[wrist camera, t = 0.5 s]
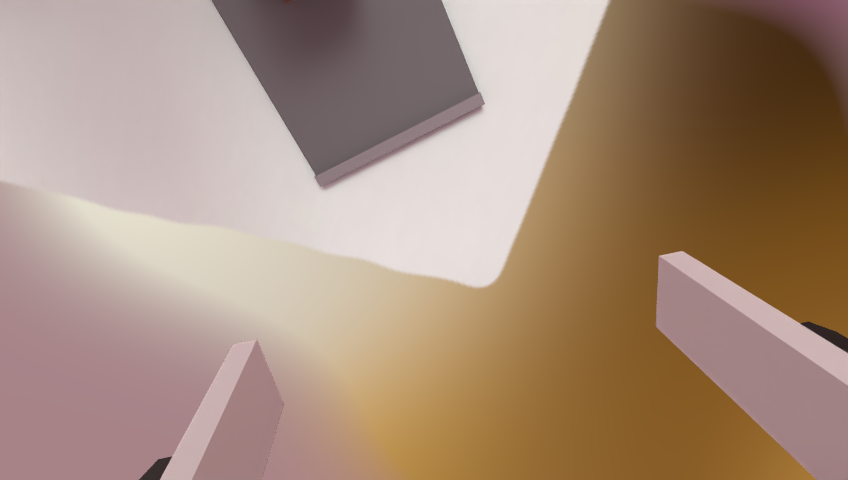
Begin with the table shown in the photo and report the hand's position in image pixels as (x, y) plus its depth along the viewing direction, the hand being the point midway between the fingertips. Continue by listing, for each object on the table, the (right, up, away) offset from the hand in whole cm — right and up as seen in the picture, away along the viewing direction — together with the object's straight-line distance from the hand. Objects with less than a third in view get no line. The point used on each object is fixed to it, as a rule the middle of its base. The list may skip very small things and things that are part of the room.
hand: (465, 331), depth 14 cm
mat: (-8, +20, +20) cm, 29 cm away
